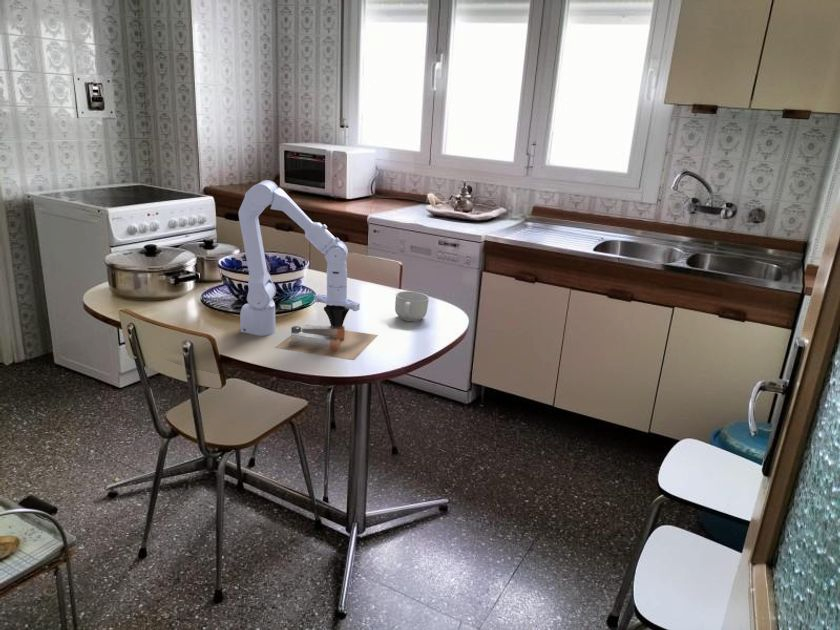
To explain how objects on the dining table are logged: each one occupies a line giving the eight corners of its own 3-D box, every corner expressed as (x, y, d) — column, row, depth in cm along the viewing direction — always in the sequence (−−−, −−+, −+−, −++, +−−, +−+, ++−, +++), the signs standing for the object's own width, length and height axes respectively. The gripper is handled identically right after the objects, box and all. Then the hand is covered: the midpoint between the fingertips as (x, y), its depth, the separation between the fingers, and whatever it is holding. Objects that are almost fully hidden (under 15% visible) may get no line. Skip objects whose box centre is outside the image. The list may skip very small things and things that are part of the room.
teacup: (402, 311, 207) (403, 288, 204) (432, 316, 203) (434, 293, 201) (385, 323, 195) (386, 299, 192) (416, 329, 191) (418, 305, 188)
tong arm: (302, 338, 175) (302, 328, 174) (302, 335, 177) (302, 325, 176) (344, 338, 176) (344, 329, 175) (344, 335, 178) (344, 326, 177)
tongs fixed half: (286, 343, 171) (286, 330, 170) (294, 338, 175) (293, 325, 174) (336, 351, 168) (336, 338, 167) (342, 345, 172) (342, 332, 171)
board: (274, 351, 168) (274, 347, 168) (306, 328, 187) (306, 324, 186) (354, 364, 163) (354, 360, 163) (377, 338, 182) (378, 335, 181)
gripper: (307, 283, 175) (308, 328, 179) (349, 292, 168) (349, 338, 173) (323, 278, 181) (323, 321, 185) (364, 286, 174) (363, 331, 179)
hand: (336, 329), depth 179 cm, fingers closed
